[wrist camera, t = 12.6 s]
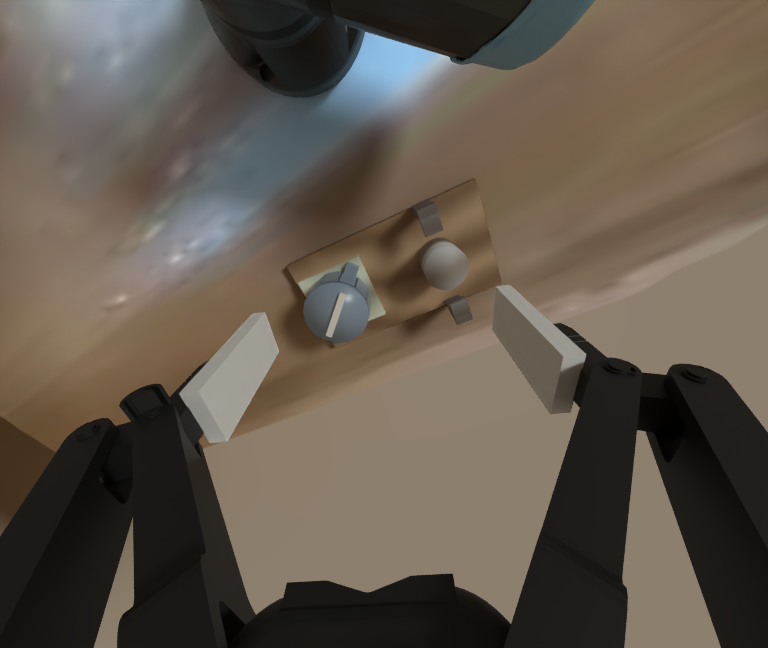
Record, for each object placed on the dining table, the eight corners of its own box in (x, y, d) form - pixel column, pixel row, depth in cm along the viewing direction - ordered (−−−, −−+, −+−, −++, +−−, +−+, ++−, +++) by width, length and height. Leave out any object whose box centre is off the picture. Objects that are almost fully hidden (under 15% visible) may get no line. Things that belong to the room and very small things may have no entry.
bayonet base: (287, 262, 38) (269, 278, 32) (471, 177, 34) (492, 176, 27) (337, 344, 44) (329, 372, 38) (499, 281, 40) (521, 300, 33)
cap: (323, 252, 36) (314, 263, 31) (382, 274, 37) (382, 288, 32) (303, 322, 40) (292, 342, 35) (356, 339, 42) (352, 361, 37)
